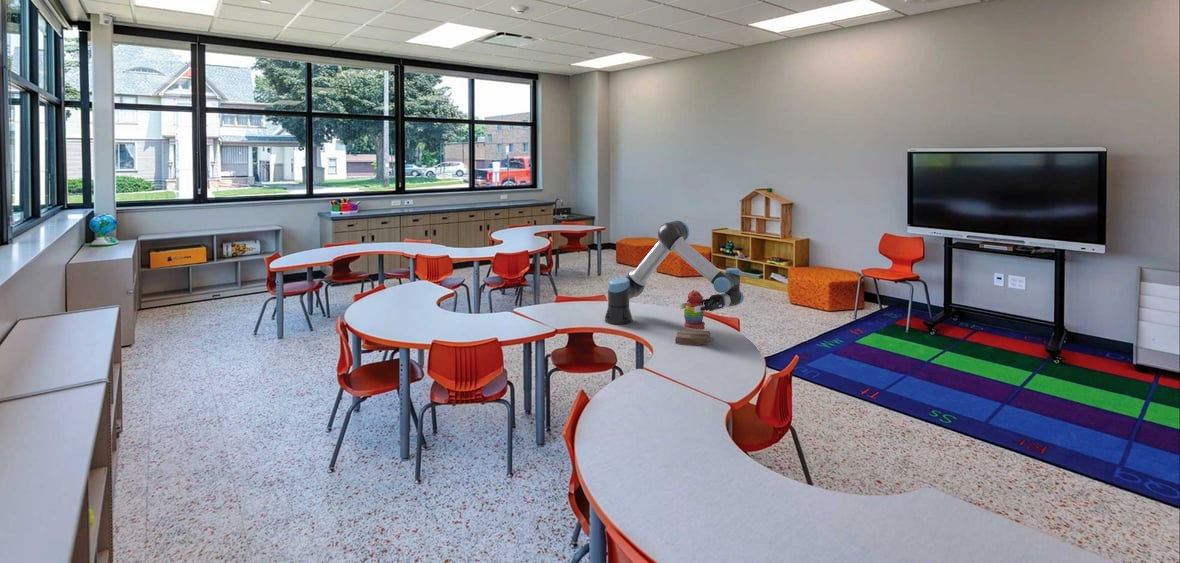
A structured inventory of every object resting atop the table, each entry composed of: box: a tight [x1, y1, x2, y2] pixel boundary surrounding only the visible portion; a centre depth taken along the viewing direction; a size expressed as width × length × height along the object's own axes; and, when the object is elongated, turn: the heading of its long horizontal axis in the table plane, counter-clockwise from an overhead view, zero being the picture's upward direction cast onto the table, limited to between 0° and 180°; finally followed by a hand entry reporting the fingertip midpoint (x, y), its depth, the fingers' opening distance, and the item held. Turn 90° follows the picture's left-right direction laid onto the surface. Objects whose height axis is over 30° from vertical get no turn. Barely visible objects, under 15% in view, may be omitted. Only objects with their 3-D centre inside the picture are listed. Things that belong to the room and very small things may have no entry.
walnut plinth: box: [675, 328, 711, 347], centre depth 300 cm, size 15×15×3 cm
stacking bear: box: [683, 289, 706, 330], centre depth 297 cm, size 11×10×18 cm
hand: (687, 308), depth 294 cm, fingers closed on stacking bear, 9 cm apart
